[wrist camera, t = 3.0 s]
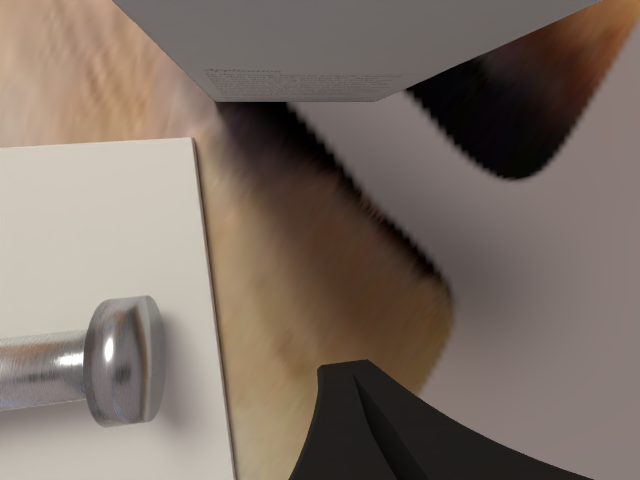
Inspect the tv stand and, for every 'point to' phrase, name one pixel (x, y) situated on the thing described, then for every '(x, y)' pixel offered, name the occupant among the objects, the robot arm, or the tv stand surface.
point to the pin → (92, 364)
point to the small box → (331, 42)
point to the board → (110, 283)
